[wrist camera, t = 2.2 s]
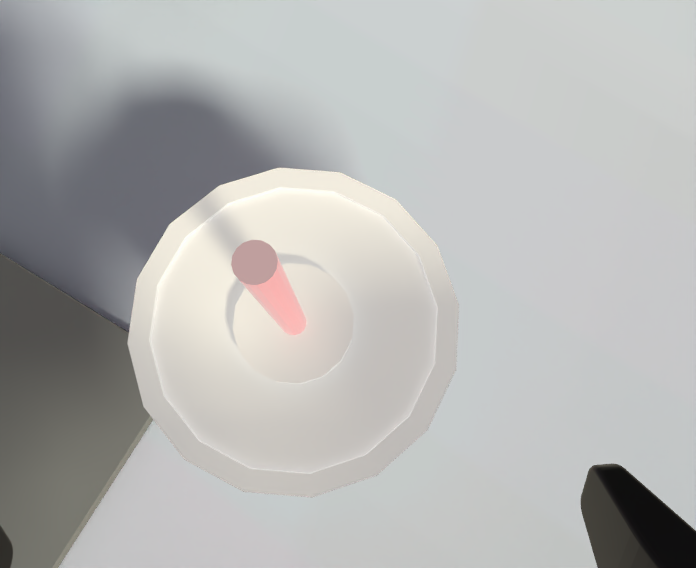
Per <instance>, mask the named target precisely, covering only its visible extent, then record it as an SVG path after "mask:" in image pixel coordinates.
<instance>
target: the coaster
mask: <svg viewBox="0 0 696 568" xmlns="http://www.w3.org/2000/svg"><path fill="white" fill-rule="evenodd" d="M128 336H129V332H127V331H126V330H124V329H122V328H121V327H119V326H117V325H116V324H114V323H113V322H111V321H109V320H108V319H106V318H104V317H103V316H101V315H100V314H98V313H96V312H95V311H93V310H92V309H90V308H88V307H87V306H85V305H83V304H82V303H80V302H79V301H77V300H75V299H74V298H72V297H71V296H69V295H67V294H66V293H64V292H62V291H61V290H59V289H58V288H56V287H54V286H53V285H51V284H49V283H48V282H46V281H45V280H43V279H41V278H40V277H38V276H37V275H35V274H33V273H32V272H30V271H28V270H27V269H25V268H24V267H22V266H20V265H19V264H17V263H15V262H14V261H12V260H11V259H9V258H7V257H6V256H4V255H3V254H1V253H0V525H1V526H2V528H3V529H4V531H5V533H6V534H7V536H8V537H9V539H10V540H11V542H12V546H13V559H12V564H11V568H58V567H59V565H60V564H61V562H62V561H63V559H64V557H65V556H66V554H67V553H68V551H69V550H70V548H71V547H72V545H73V543H74V542H75V540H76V539H77V537H78V536H79V534H80V533H81V531H82V529H83V528H84V526H85V525H86V523H87V522H88V520H89V519H90V517H91V515H92V514H93V512H94V511H95V509H96V508H97V506H98V505H99V503H100V501H101V500H102V498H103V497H104V495H105V494H106V492H107V491H108V489H109V487H110V486H111V484H112V483H113V481H114V480H115V478H116V476H117V475H118V473H119V472H120V470H121V469H122V467H123V466H124V464H125V462H126V461H127V459H128V458H129V456H130V455H131V453H132V452H133V450H134V448H135V447H136V445H137V444H138V442H139V441H140V439H141V438H142V436H143V434H144V433H145V431H146V430H147V428H148V427H149V425H150V424H151V422H152V420H153V418H152V417H151V416H150V415H149V413H148V412H147V411H146V409H145V408H144V407H143V403H142V399H141V395H140V391H139V387H138V383H137V379H136V375H135V371H134V367H133V363H132V359H131V356H130V352H129V348H128V344H127V342H128Z"/></svg>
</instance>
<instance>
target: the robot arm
mask: <svg viewBox="0 0 696 568" xmlns="http://www.w3.org/2000/svg"><path fill="white" fill-rule="evenodd" d="M581 510H582V515H583V518H584V522H585V525H586V529H587V532H588V536H589V539H590V543H591V546H592V549H593V553H594V556H595V560H596V563H597V567H598V568H696V531H695V530H694V529H693V528H692V527H691V526H690V525H689V524H687V523H686V522H685V521H684V520H683V519H682V518H681V517H679V516H678V515H677V514H676V513H675V512H674V511H673V510H671V509H670V508H669V507H668V506H667V505H666V504H665V503H663V502H662V501H661V500H660V499H659V498H658V497H657V496H655V495H654V494H653V493H652V492H651V491H650V490H649V489H647V488H646V487H645V486H644V485H643V484H642V483H641V482H640V481H638V480H637V479H636V478H635V477H634V476H633V475H632V474H630V473H629V472H628V471H627V470H626V469H625V468H623V467H622V466H620V465H618V464H603V465H594V466H592V467H591V468H590V469H589V471H588V475H587V478H586V482H585V485H584V489H583V492H582V496H581ZM12 559H13V546H12V542H11V540H10V539H9V537H8V536H7V534H6V533H5V531H4V529H3V528H2V526H1V525H0V568H11V564H12Z"/></svg>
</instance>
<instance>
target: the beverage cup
mask: <svg viewBox="0 0 696 568" xmlns="http://www.w3.org/2000/svg"><path fill="white" fill-rule="evenodd" d="M458 316H459V304H458V301H457V298H456V295H455V293H454V290H453V287H452V284H451V281H450V279H449V276H448V273H447V270H446V268H445V265H444V262H443V259H442V257H441V254H440V251H439V248H438V246H437V244H436V243H435V242H434V241H433V240H432V239H431V238H430V237H429V236H428V234H427V233H426V232H425V231H424V230H423V229H422V228H421V227H420V226H419V225H418V223H417V222H416V221H415V220H414V219H413V218H412V217H411V216H410V215H409V213H408V212H407V211H406V210H405V209H404V208H403V207H402V206H401V205H400V204H399V202H398V201H397V200H396V199H394V198H392V197H390V196H388V195H386V194H384V193H382V192H380V191H377V190H375V189H373V188H371V187H369V186H367V185H365V184H363V183H361V182H359V181H357V180H355V179H353V178H351V177H349V176H347V175H345V174H343V173H341V172H329V171H316V170H303V169H291V168H276V169H272V170H269V171H266V172H262V173H259V174H256V175H252V176H249V177H246V178H242V179H239V180H236V181H232V182H229V183H226V184H222V185H219V186H218V187H217V188H215V189H214V190H213V191H211V192H210V193H209V194H208V195H206V196H205V197H204V198H202V199H201V200H200V201H199V202H197V203H196V204H195V205H193V206H192V207H191V208H190V209H188V210H187V211H186V212H184V213H183V214H182V215H181V216H179V217H178V218H177V219H175V220H174V221H173V222H172V223H170V224H169V226H168V228H167V229H166V231H165V233H164V234H163V236H162V238H161V239H160V241H159V243H158V244H157V246H156V248H155V250H154V251H153V253H152V255H151V256H150V258H149V260H148V261H147V263H146V265H145V266H144V268H143V270H142V271H141V273H140V275H139V277H138V278H137V282H136V289H135V296H134V302H133V309H132V316H131V322H130V329H129V336H128V342H127V344H128V348H129V352H130V356H131V359H132V363H133V367H134V371H135V375H136V379H137V383H138V387H139V391H140V395H141V399H142V403H143V407H144V408H145V409H146V411H147V412H148V413H149V415H150V416H151V417H152V418H153V420H154V421H155V422H156V424H157V425H158V426H159V427H160V429H161V430H162V431H163V433H164V434H165V435H166V436H167V438H168V439H169V440H170V442H171V443H172V444H173V446H174V447H175V448H176V449H177V451H178V452H179V453H180V455H181V456H182V457H183V458H184V460H186V461H188V462H190V463H192V464H193V465H195V466H197V467H199V468H201V469H203V470H205V471H206V472H208V473H210V474H212V475H214V476H216V477H217V478H219V479H221V480H223V481H225V482H227V483H228V484H230V485H232V486H234V487H236V488H238V489H240V490H241V491H243V492H252V493H264V494H276V495H288V496H301V497H315V496H318V495H321V494H324V493H327V492H330V491H333V490H335V489H338V488H341V487H344V486H347V485H350V484H353V483H356V482H359V481H362V480H365V479H368V478H371V477H374V476H377V475H378V474H379V473H380V472H381V471H383V470H384V469H385V468H386V467H387V466H388V465H389V464H390V463H391V462H393V461H394V460H395V459H396V458H397V457H398V456H399V455H400V454H401V453H403V452H404V451H405V450H406V449H407V448H408V447H409V446H410V445H411V444H413V443H414V442H415V441H416V440H417V439H418V438H419V437H420V436H422V435H423V434H424V433H425V432H426V431H427V430H428V428H429V426H430V424H431V422H432V420H433V418H434V416H435V413H436V411H437V409H438V407H439V405H440V403H441V401H442V399H443V396H444V394H445V392H446V390H447V388H448V386H449V384H450V382H451V379H452V377H453V375H454V373H455V371H456V361H457V338H458Z"/></svg>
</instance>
